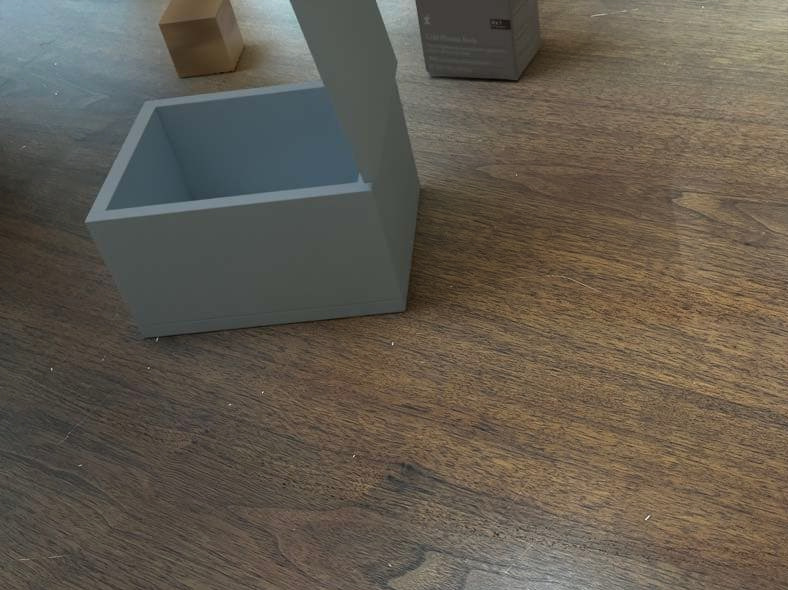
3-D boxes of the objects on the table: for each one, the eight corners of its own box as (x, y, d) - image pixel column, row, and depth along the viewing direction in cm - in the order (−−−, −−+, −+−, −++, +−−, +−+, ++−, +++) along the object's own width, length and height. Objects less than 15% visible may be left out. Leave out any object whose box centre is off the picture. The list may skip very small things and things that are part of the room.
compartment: (142, 338, 69) (84, 222, 63) (191, 212, 79) (144, 100, 73) (405, 311, 68) (372, 189, 61) (421, 186, 78) (393, 70, 71)
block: (178, 78, 95) (157, 23, 91) (191, 51, 98) (171, -2, 95) (234, 71, 94) (215, 16, 91) (244, 45, 98) (227, -9, 94)
